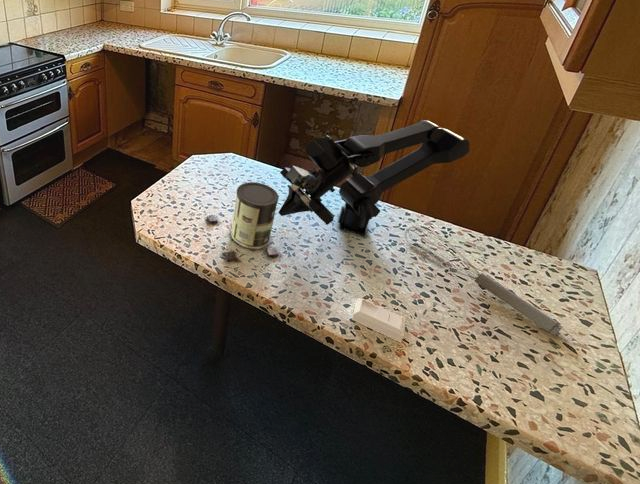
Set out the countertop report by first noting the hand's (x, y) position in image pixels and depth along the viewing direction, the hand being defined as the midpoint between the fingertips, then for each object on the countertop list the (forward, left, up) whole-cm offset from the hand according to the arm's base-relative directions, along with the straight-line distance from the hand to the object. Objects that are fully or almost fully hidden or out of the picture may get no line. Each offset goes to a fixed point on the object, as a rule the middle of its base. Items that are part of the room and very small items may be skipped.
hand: (279, 214), depth 106 cm
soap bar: (-24, +19, -7) cm, 31 cm away
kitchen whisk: (-44, -4, -7) cm, 45 cm away
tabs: (+8, +6, -6) cm, 12 cm away
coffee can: (+6, +4, -7) cm, 10 cm away
